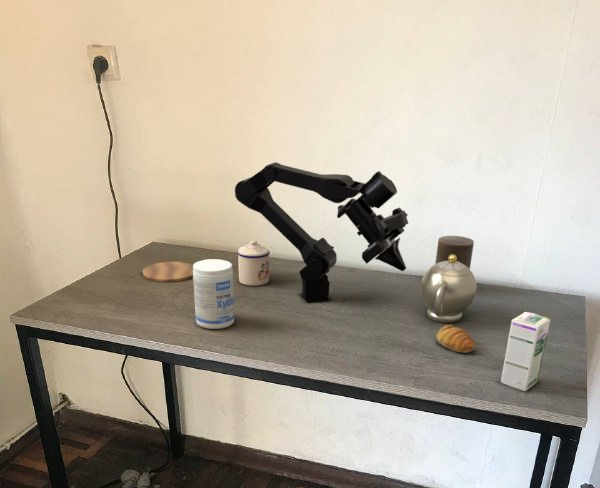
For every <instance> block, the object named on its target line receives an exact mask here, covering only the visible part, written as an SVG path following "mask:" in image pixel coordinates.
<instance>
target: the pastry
mask: <svg viewBox="0 0 600 488" xmlns="http://www.w3.org/2000/svg"><path fill="white" fill-rule="evenodd" d="M435 339H436V340H437V342H438V344H441V345H442V347H444V348H446V349H449V351H453V352H456V353H462V354H467V353H470V352H473V351H474V349H475V348H476V343H475V342H474V339H473V338H472V337H471V335H470V334H468V333H467V331H466V330H463V329H462V328H461V327H455V326H454V325H452V324H445V325H444V326H443V327H441V328H440V329H439V330H438V331H437V334H436V335H435Z"/></svg>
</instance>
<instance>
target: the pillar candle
mask: <svg viewBox="0 0 600 488" xmlns="http://www.w3.org/2000/svg"><path fill="white" fill-rule="evenodd" d="M474 245H475V241H474V239H472V238H469V237H466V236H461V235H444V236H440V237H438V242H437V248H436V255H435V261H434V262H435V264H437V263H439V262H442V261H448V257H449V256H450V255H452V254H454V255H455V256H456V257H457V260H456V261H458V262H460V263H462V264H464V265H465V266H467V267H468V268H469V269H470V270H471V264H472V257H473V251H474ZM435 264H434V265H435Z"/></svg>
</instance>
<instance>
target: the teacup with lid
mask: <svg viewBox="0 0 600 488" xmlns="http://www.w3.org/2000/svg"><path fill="white" fill-rule="evenodd" d="M270 253H271V252H270V250H269V248H268V247H266V246H264V245H261V244H259V243H258V241H257V240H250V241H249V243H247V244H245V245H243V246H241V247H239V248H238V249H237V257H238V258H237V260H238V281H239V283H240V284H242V285H245V286H249V287H256V286H257V287H258V286H259V287H260V286H263V285H266V284H268V283H269V281H270Z"/></svg>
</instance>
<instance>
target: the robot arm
mask: <svg viewBox="0 0 600 488" xmlns="http://www.w3.org/2000/svg"><path fill="white" fill-rule="evenodd" d="M275 182H276V183H280V184H284V185H287V186H291V187H295V188H298V189H303V190H306V191H310V192H314V193H316V194H318V195H319V196H320V197H321V198H322V199H326V200H327V201H329V202H331V203H333V204H339V205H338V206H337V215H336V218H337V219H340V218H342V217H343V216H345V215H346V216H347V218H348V219H349V221H350V222H351V223H352V225H353V226H354V227H355V228H356V229H357V230H358V231H357V232H356V234H357V235H358V237H360V236H362V237H363V238H364V239H365V241H366V242H367V243H368V245H366V247H367V248H366V249H364V251H362V253H361V259H362V260H363V262H364V263H365V264H368V263H370V262H371V261H373V259H375V260H377V261H380V262H382V263H384V264H387V265H389V266H390V267H392V268H395V269H397V270H399V271H401V272H404V271H405V270H406V269H407V266H406V263H405V261H404V259H403V256H402V254H401V251H400V248H399V245H400V240H401V237H400V235H401V234H403V233H404V232H405V229H404V228H405V227H406V226H407V225H408V224H409V221H408V217H409V215H408V213H407V212H406V210H403V209H402V208H401V207H397V208H394V209H392V211H391V212H392V213H391V215H390V214H389V216H386V217H384V216H383V215H382V214H380V213H379V214H377V213H376V212H375V211H374V210H373V209H374V208H375V209H380V208H381V207H382V206H384V205H385V204H386V203H388V201H390V200H391V199H392V198H393V197H394V196H395V195H397V193H398V190H397V186H396V185H395V183H394V182H393V180H392V179H390V178H389V177H387V176H386V175H385V174H383V173H382V172H381V171H380V170H378V171H376V172H375V173H374V174H373V175H372V176H371V177H370V179H369V180H368V181H366V182H361V181H357V180H354V179H353V177H352V176H350V175H349V174H339V173H338V174H337V173H332V174H331V173H330V174H320V173H317V172H313V171H310V170H309V171H308V170H306V169H305V170H304V169H300V168H297V167H293V166H288V165H284V164H281V163H279V162H277V161H275V162H272V163H268V164H266V165H265V166H264V167H263V168H262V169H261V170H260V171H258V172H257V173H255V174H254V175H252V176H251V177H248V178H245V179H242V180H240V181H238V182H237V183H236V185H235V187H234V197H235V199H236V200H237V201H238V202H239V203H241V205H243V206H245V207H246V208H248V209H249V210H252V211H255V212H257V213H259V214H261V216H263V217H264V218H265V219H266V220H267V221H268V222H269V223H270V224H271V226H273V227H274V228H275V229H276V230H277V231H278V232H279V233H280V234H281V235H282V236H283V237H284V238H286V239H287V241H289V243H291V245H293V247H295V248H296V249H297V250H298V251H299V253H300V255H301V259H302V260H303V263H304V264H305V266H304V267H303V268H302V269H300V270H299V272H298V273H299V276H300V280H302V281H301V292H299V296H301V298H302V299H303V300H304V301H305V302H306V303H316V302H326V301H330V297H329V296H330V284H331V283H330V282H331V281H329V276H328V275H327V274H328V273H329V272H330V270H331V269H332V268H333V267H334V266H335V265H336V264H337V262H338V261H337V260H338V255H337V252H336V251H335V250H334V249H335V247H334V246H333V245H331V244H329V243H328V241H327V240H326V239H325V238H324V237H320V239H315V238H313V237H312V236H311V235H310V234H309V233H308V232H307V231H306V230H305V229H303V227H301V225H300V224H298V223H297V221H295V220H294V219H293V217H292V216H291V215H289V214H288V213H287V212H286V211H285V210H284V209H283V208H282V207H281V206H280V205H279V204H278V203H277V202H276V201H275V200H274V198H273V197H272V193H271V192H270V189H269V187H270V186H271V185H272V184H274V183H275ZM358 195H360V196H359V197H358V198H355V197H356V196H358ZM348 199H349V200H348ZM347 200H348V201H347ZM345 201H347V202H346V203H345V204H341V203H344V202H345ZM397 237H398V238H397Z"/></svg>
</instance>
